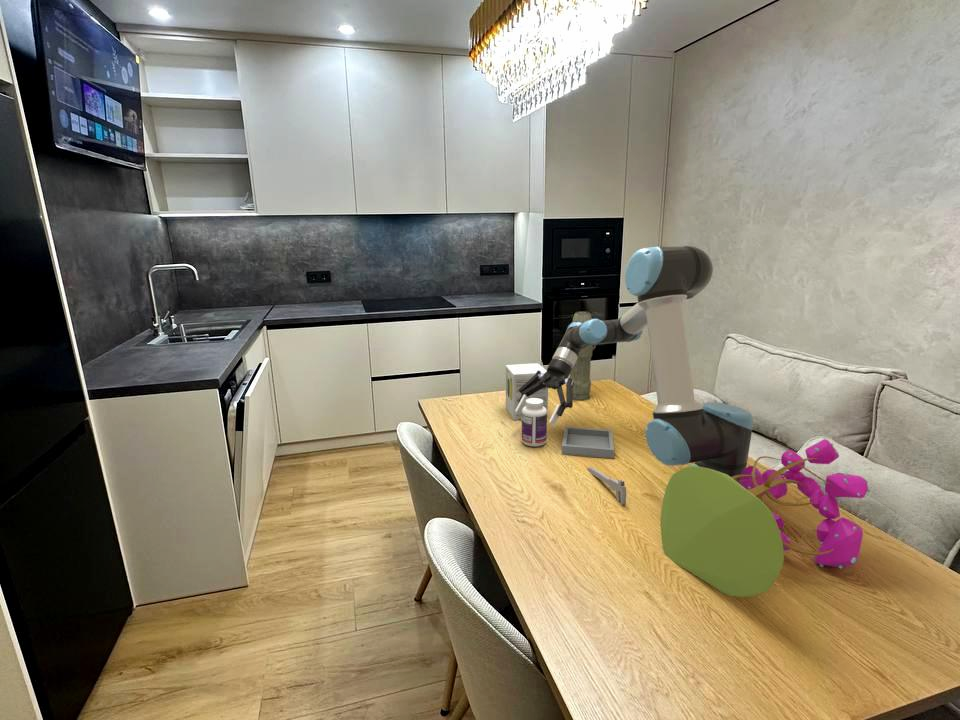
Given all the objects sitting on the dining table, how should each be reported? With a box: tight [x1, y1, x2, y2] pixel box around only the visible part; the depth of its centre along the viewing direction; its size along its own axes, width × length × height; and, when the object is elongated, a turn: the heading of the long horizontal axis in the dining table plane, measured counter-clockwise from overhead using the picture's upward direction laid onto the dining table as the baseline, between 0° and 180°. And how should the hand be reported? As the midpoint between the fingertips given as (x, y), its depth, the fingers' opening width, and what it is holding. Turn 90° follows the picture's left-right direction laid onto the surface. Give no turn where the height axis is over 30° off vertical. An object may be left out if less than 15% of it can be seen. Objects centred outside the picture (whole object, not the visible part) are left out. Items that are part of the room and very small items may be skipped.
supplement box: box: [505, 362, 549, 421], centre depth 185 cm, size 13×13×18 cm
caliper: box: [586, 466, 627, 506], centre depth 133 cm, size 20×1×6 cm, turn 13°
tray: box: [561, 426, 615, 459], centre depth 158 cm, size 15×15×3 cm
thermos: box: [566, 310, 597, 402], centre depth 199 cm, size 9×12×35 cm
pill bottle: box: [521, 398, 548, 448], centre depth 159 cm, size 8×8×14 cm
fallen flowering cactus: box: [659, 438, 871, 598], centre depth 103 cm, size 30×28×35 cm
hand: (534, 418), depth 160 cm, fingers open, 13 cm apart
